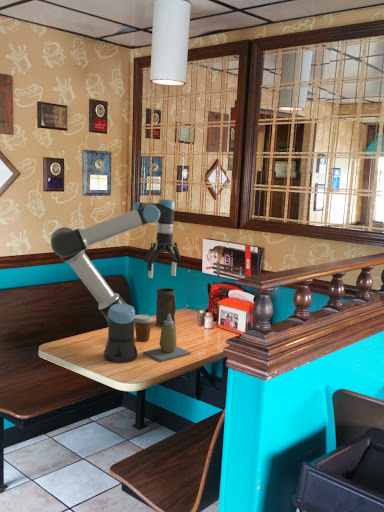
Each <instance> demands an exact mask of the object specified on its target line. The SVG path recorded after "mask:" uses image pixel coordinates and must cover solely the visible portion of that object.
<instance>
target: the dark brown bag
mask: <svg viewBox="0 0 384 512" xmlns="http://www.w3.org/2000/svg"><path fill="white" fill-rule="evenodd" d="M175 294H176V292H175V289H173V288H168V287H165V288H164V287H162V288H158V289H156V303H155V305H156V306H155V307H156V308H155V309H156V311H155V317H156V319H155V320H156V321H155V325H156V326H158V327H162V326H163V325H164V321H165V320H167V316H168V314H171V319H172V321H174V326H176V318H175V314H176V308H177V306H176V305H177V303H176V295H175Z"/></svg>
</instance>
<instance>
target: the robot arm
mask: <svg viewBox="0 0 384 512" xmlns="http://www.w3.org/2000/svg"><path fill="white" fill-rule="evenodd" d="M175 204H176V203H175V201H174V200H173V199H166V198H161V199H159V201H158V202H157V203H154V202H142V201H141V202H134V203H133V205H132V210H131V211H128V212H126V213H123V214H120V215H118V216H114V217H113V218H110V219H107V220H104V221H102V222H99V223H96V224H94V225H91V226H88V227H86V228H77V229H71V228H69V227H66V226H65V227H60V228H58V229H55V231H54V232H53V233H52V234H51V237H50V246H51V250H52V251H53V253H55V254H56V256H59V258H60V259H61V261H63V263H66V264H69V266H70V267H71V268H72V270H73V271H74V272H75V274H76V275H77V276H78V277H79V279H80V281H82V283H83V284H84V286H85V287H86V288H87V290H88V291H89V292H90V294H91V295H92V297H94V299H95V300H96V302H97V303H98V307H97V308H98V310H99V312H101V314H102V315H103V317H104V318H105V320H106V322H107V324H108V325H107V331H108V332H107V343H106V344H105V349H104V350H103V358H104V360H106V361H109V362H111V363H120V364H121V363H129V362H133V361H135V360H137V358H138V351H137V347H136V343H135V316H136V310H135V307H134V306H132V305H130V304H127V302H126V301H125V300H124V299H123V298H122V297H121V294H119V293H117V292H114V290H112V288H111V287H110V285H109V284H108V283H107V282H106V281H107V280H105V278H104V277H103V276H102V274H101V273H100V271H99V270H98V269H97V267H96V266H95V265H94V263H93V262H92V260H91V259H90V258H89V256H88V255H87V254H86V253H85V251H86V250H87V249H88V248H89V246H92V245H95V244H97V243H100V242H102V241H105V240H108V239H110V238H112V237H115V236H118V235H120V234H123V233H125V232H128V231H131V230H133V229H136V228H139V227H141V226H144V225H147V224H153V223H156V222H157V225H156V226H157V227H156V231H157V233H156V242H151V243H150V248H149V250H148V251H147V254H146V255H145V258H144V260H143V262H144V263H146V264H147V269H146V271H148V273H147V277H148V278H150V279H153V277H154V262H155V260H156V259H157V257H159V254H161V253H167V254H168V255H169V257H170V258H171V259H172V262H171V269H170V275H171V276H174V277H177V276H176V275H177V269H178V263H180V262H181V261H182V258H181V255H180V252H179V248H178V243H177V241H173V239H174V238H173V237H174V236H173V235H174V234H173V232H174V221H175V210H176V209H175Z"/></svg>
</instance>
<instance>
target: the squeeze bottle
mask: <svg viewBox="0 0 384 512" xmlns="http://www.w3.org/2000/svg"><path fill="white" fill-rule="evenodd" d="M159 337H160V338H159V346H160V347H159V348H161V351H162V352H166V353H171V352H174V350H175V347H176V346H177V345H178V344H177V343H178V342H177V328H176V325H174V321H172V319H171V314H168V316H167V320H165V321H164V325H163V326H161V331H160V336H159Z"/></svg>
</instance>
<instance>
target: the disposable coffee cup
mask: <svg viewBox="0 0 384 512" xmlns="http://www.w3.org/2000/svg"><path fill="white" fill-rule="evenodd" d="M153 320H154V319H153V316H152V315H150V314H135V323H134V331H135V339H136V341H138V342H139V343H140V342H142V343H144V342H149V341H150V336H151V335H150V334H151V328H152V323H153Z"/></svg>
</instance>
